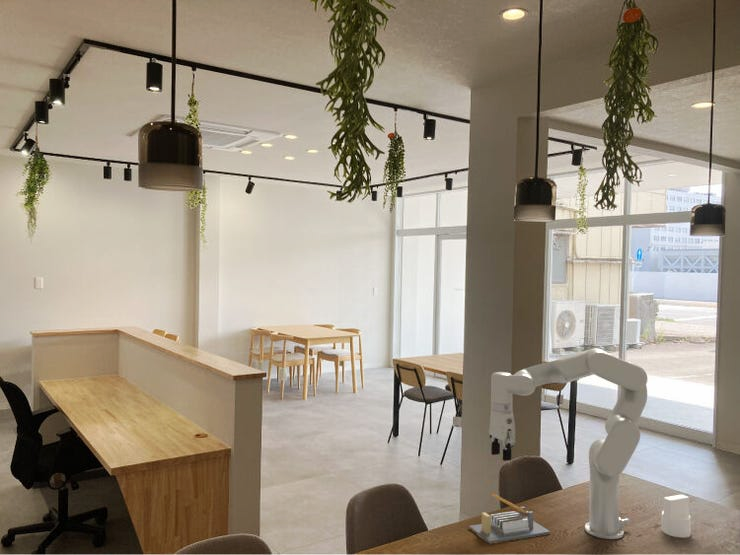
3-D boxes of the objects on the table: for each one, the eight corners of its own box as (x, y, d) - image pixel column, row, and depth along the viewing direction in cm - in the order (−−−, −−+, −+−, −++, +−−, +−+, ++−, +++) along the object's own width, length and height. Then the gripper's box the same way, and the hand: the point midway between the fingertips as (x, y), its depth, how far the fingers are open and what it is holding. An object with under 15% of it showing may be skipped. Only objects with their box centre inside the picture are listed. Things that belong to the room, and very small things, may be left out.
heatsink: (514, 521, 211) (514, 510, 211) (529, 531, 203) (529, 520, 203) (489, 525, 208) (489, 513, 208) (504, 535, 199) (504, 523, 200)
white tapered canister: (674, 525, 212) (675, 491, 212) (696, 535, 204) (697, 500, 204) (655, 528, 209) (655, 494, 209) (677, 539, 201) (677, 503, 201)
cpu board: (527, 519, 216) (527, 500, 216) (550, 534, 203) (550, 513, 203) (469, 528, 207) (469, 508, 207) (489, 544, 195) (489, 523, 195)
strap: (524, 513, 209) (526, 510, 210) (529, 516, 207) (531, 513, 207) (491, 495, 205) (492, 492, 205) (496, 499, 202) (497, 495, 202)
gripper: (524, 411, 206) (524, 463, 206) (497, 401, 222) (497, 449, 222) (506, 413, 203) (505, 465, 203) (479, 403, 219) (479, 451, 219)
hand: (501, 456), depth 212 cm, fingers open, 6 cm apart
